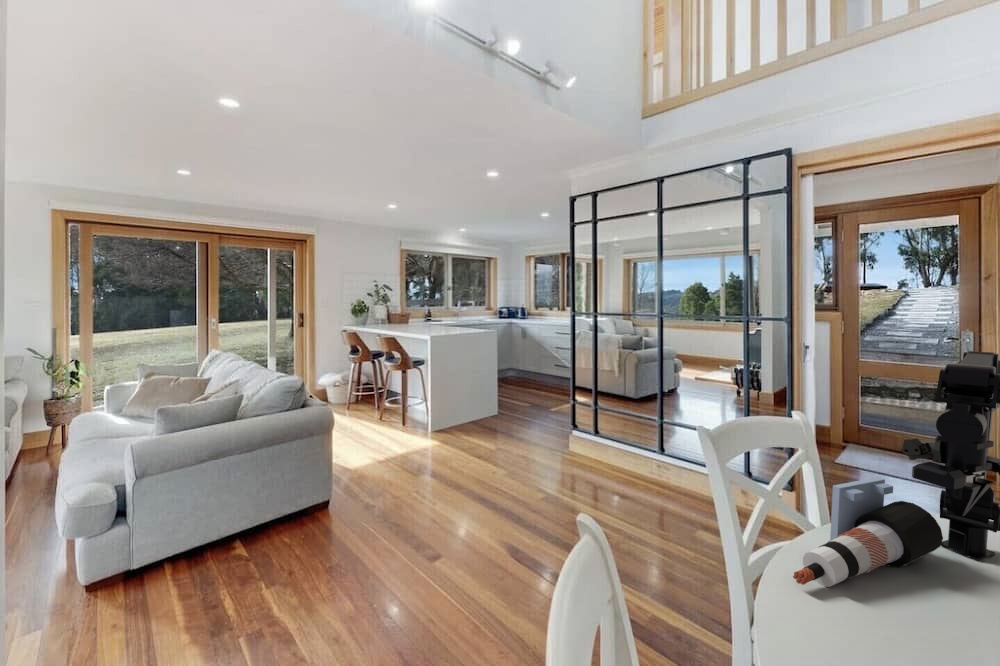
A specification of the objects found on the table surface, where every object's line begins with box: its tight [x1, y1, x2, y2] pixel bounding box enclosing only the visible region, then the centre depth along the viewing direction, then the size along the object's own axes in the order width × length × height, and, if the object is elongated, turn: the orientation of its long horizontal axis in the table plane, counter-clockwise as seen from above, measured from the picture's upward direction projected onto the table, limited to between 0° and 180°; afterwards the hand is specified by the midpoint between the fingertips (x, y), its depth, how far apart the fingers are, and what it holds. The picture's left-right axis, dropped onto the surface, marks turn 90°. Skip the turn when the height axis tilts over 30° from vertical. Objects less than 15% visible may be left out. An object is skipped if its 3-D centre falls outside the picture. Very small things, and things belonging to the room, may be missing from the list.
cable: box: [792, 500, 944, 588], centre depth 89 cm, size 10×34×10 cm, turn 111°
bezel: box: [829, 476, 894, 541], centre depth 97 cm, size 14×4×14 cm, turn 109°
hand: (959, 515), depth 85 cm, fingers closed
